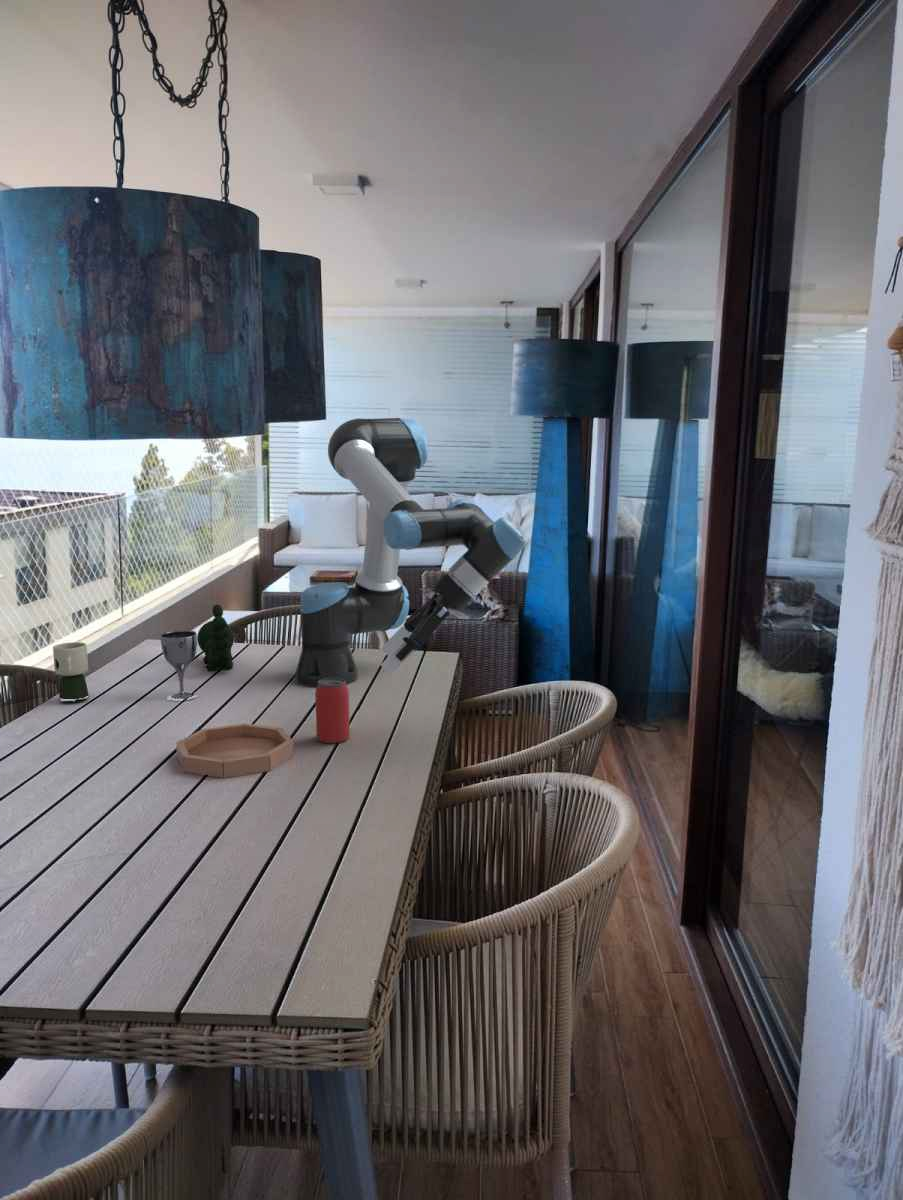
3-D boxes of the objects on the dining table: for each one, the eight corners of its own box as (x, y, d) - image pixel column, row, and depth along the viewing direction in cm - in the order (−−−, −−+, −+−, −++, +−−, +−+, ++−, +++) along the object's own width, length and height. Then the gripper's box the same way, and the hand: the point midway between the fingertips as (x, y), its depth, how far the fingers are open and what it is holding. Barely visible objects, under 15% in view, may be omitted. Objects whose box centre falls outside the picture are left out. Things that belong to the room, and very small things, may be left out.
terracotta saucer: (172, 747, 186) (171, 733, 185) (275, 733, 194) (274, 719, 194) (189, 783, 168) (188, 767, 167) (302, 766, 176) (301, 750, 175)
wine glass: (199, 700, 217) (196, 636, 214) (163, 703, 215) (159, 638, 213) (200, 691, 225) (196, 629, 222) (165, 693, 223) (161, 631, 220)
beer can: (344, 745, 187) (342, 686, 185) (312, 743, 188) (310, 685, 186) (353, 734, 193) (352, 677, 191) (322, 732, 195) (320, 676, 192)
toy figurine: (241, 682, 239) (232, 650, 262) (238, 609, 234) (229, 584, 257) (202, 685, 236) (196, 653, 259) (199, 612, 231) (193, 586, 254)
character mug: (60, 695, 222) (56, 641, 219) (93, 693, 224) (88, 639, 221) (54, 708, 212) (49, 652, 209) (88, 706, 213) (83, 649, 211)
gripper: (480, 609, 175) (400, 690, 177) (468, 587, 200) (398, 658, 201) (451, 581, 174) (371, 663, 176) (442, 562, 198) (372, 634, 200)
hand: (385, 661), depth 188 cm, fingers open, 13 cm apart
